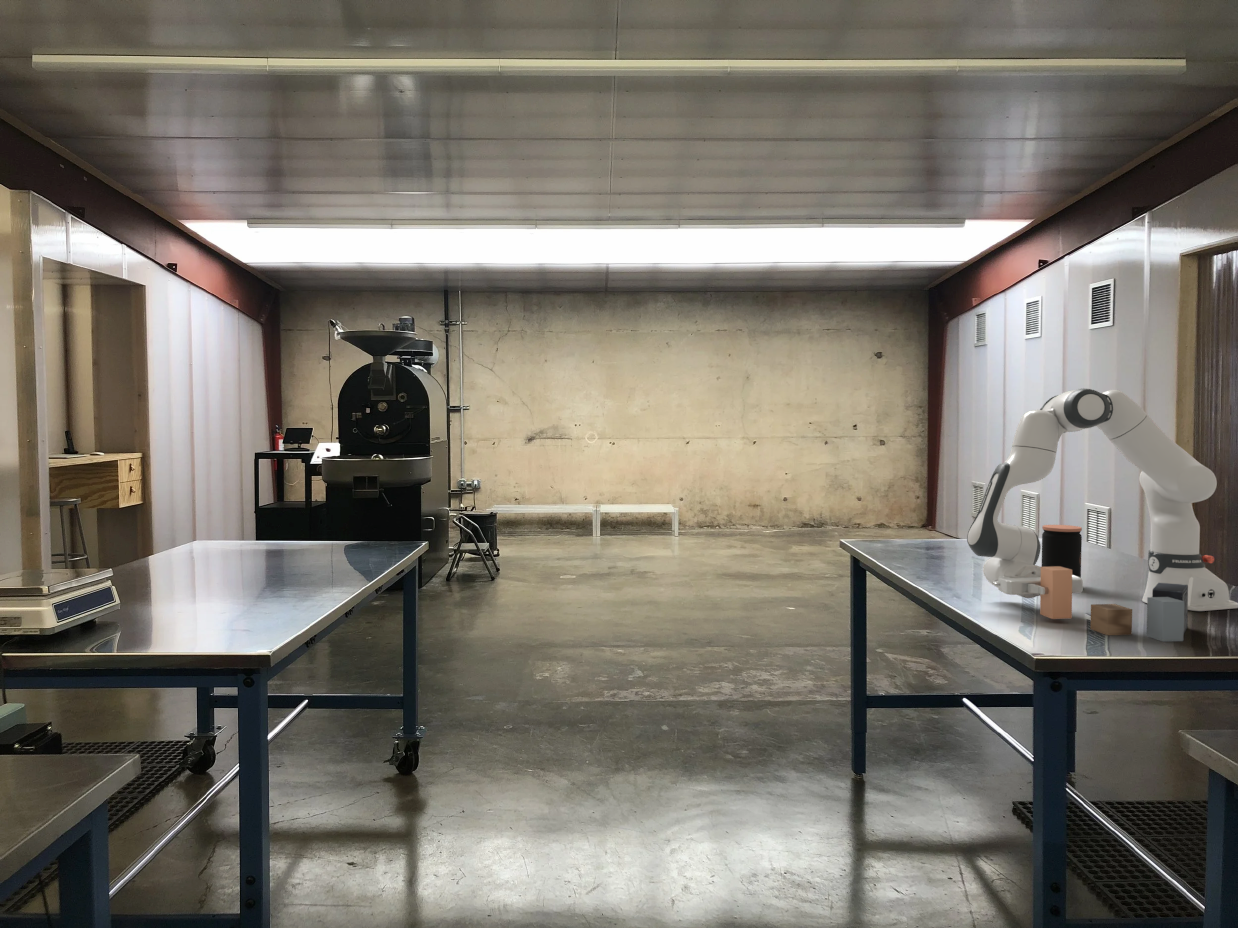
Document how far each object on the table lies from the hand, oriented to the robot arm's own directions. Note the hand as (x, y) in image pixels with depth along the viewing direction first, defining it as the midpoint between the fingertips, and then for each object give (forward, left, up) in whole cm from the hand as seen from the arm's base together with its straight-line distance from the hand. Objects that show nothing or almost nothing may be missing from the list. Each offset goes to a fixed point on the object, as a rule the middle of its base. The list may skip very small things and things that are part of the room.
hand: (1058, 590), depth 205 cm
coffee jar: (-30, -45, -8) cm, 54 cm away
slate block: (-15, +17, -8) cm, 24 cm away
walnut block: (-7, +10, -8) cm, 14 cm away
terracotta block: (0, -1, -7) cm, 7 cm away
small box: (-21, +10, -8) cm, 25 cm away
